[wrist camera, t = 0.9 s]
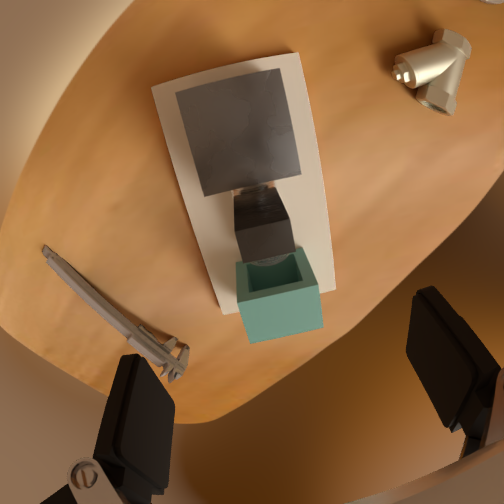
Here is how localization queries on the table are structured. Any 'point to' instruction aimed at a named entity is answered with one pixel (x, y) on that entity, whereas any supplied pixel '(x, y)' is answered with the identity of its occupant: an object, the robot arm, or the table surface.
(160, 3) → the table surface
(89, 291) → the caliper
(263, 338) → the socket block
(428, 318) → the robot arm
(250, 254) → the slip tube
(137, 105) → the table surface
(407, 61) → the pipe fitting
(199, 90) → the dark grey block
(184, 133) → the base board
